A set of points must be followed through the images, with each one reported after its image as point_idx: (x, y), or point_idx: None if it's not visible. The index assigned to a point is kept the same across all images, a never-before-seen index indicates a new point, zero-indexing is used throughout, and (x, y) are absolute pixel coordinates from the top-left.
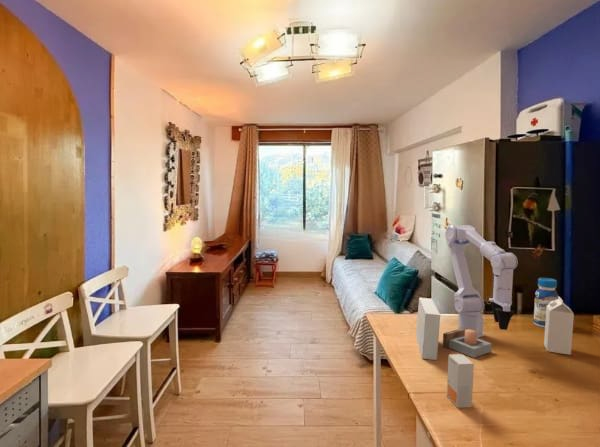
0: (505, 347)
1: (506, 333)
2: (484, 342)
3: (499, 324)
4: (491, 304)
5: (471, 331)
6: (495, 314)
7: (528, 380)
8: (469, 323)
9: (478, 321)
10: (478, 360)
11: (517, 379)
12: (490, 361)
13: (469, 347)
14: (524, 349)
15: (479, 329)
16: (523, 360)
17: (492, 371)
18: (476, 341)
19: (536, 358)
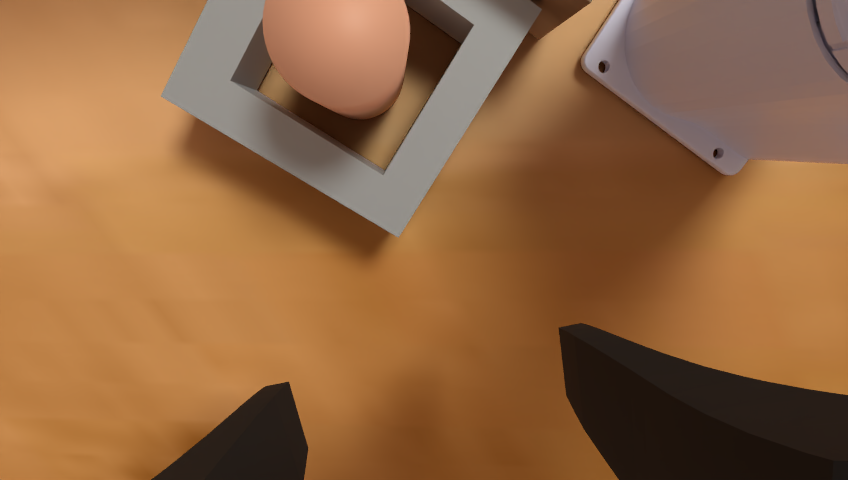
0: (541, 311)
1: (829, 318)
2: (392, 181)
3: (222, 422)
4: (795, 452)
5: (331, 35)
6: (617, 384)
7: (54, 422)
8: (719, 10)
9: (810, 112)
10: (184, 140)
11: (23, 371)
12: (218, 220)
13: (182, 52)
14: (556, 413)
15: (749, 131)
16: (359, 405)
17: (43, 235)
18: (335, 111)
19: (433, 467)
